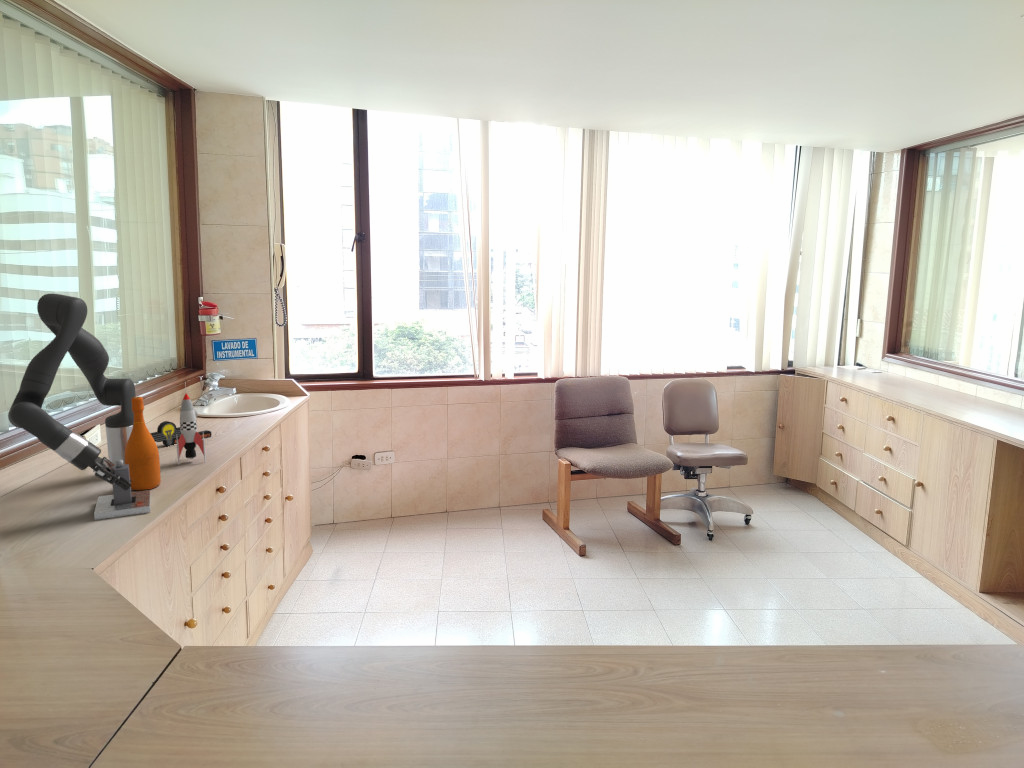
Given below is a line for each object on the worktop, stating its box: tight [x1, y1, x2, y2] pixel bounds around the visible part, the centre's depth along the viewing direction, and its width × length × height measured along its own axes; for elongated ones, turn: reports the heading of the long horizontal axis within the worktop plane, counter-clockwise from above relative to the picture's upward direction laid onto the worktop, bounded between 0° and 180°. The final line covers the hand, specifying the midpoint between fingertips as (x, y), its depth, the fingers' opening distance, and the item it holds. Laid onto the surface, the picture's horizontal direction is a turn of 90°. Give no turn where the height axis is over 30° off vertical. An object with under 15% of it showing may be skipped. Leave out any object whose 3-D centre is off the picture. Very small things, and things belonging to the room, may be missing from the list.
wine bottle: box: [125, 396, 162, 491], centre depth 221 cm, size 10×10×30 cm
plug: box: [111, 460, 132, 506], centre depth 204 cm, size 4×4×13 cm
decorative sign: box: [150, 420, 212, 447], centre depth 277 cm, size 27×2×10 cm, turn 147°
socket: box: [93, 489, 152, 521], centre depth 205 cm, size 16×14×3 cm
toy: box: [176, 381, 207, 465], centre depth 249 cm, size 9×8×30 cm
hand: (129, 485), depth 205 cm, fingers closed on plug, 4 cm apart
